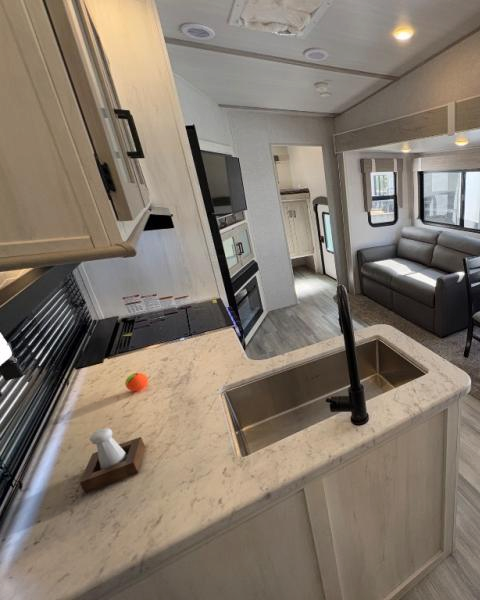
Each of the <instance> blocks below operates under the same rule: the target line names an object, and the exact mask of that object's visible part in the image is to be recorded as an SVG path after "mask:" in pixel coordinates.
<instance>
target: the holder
mask: <svg viewBox="0 0 480 600" xmlns="http://www.w3.org/2000/svg"><path fill="white" fill-rule="evenodd" d="M118 445H119V446H120V447H121V448H122V449H123V450H124V451H125V452H126V454H127V455H128V456H127V459H126V461H124V462H121V463H118V464H116V465H113V466H110V467H108V468H105V469H102V470H101V468H100V462H99V456H98V451H96V452H93V453H92V454H91V456H90V458H89V460H88V463H87V464H86V467H85V470H84V471H83V474H82V476H81V478H80V480H79V485H80V487H81V489H82V490H83V492H84V493H85V495H87V494H88V493H92V492H94V491H96V490H99V489H102V488H104V487H106V486H110V485H112V484H115V483H117V482H120V481H123V480H125V479H128V478H130V477H133V476H136V475H137V474H140V469H141V465H142V462H143V457H144V454H145V450H146V445H145V443H144V441H143V438H142V436H139V437H136V438H133V439H131V440H128V441H125V442H122V443H118Z"/></svg>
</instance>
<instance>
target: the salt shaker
mask: <svg viewBox="0 0 480 600" xmlns="http://www.w3.org/2000/svg"><path fill="white" fill-rule="evenodd" d="M113 435H114V433H113V430H112V429H111V428H109V427H104V428H100V429H98V430H96V431H95V432H92V434H91V435H90V436H89V441H90V442H91V444H92V445H96V450H97V452H98V456H99V462H100V468H101V470H102V469H105V468H108V467H110V466H113V465H116V464H118V463H121V462H124V461H126V459H127V456H128V455H127V454H126V452H125V451H124V450H123V449H122V448H121V447H120V446H119V443H118V442H117V441H116V440H115V439H114V438H113V437H112V436H113Z"/></svg>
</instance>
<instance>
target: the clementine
mask: <svg viewBox="0 0 480 600" xmlns="http://www.w3.org/2000/svg"><path fill="white" fill-rule="evenodd" d="M124 384H125V385H124V386H125V387H126V388H127V390H129V391H131V392H138V391H141V390H144V389H145V388H146V387H147V385H148V384H149V377H148V376H147V375H146V374H144V373H143V372H136V373H132V374H130V375H128V377H127V378H126V380H125V382H124Z"/></svg>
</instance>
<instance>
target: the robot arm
mask: <svg viewBox="0 0 480 600" xmlns="http://www.w3.org/2000/svg"><path fill="white" fill-rule="evenodd" d="M17 361H18V359H17V357H15V352H14V350H13V349H12V344H11V342H9V341H8V342H7V340H6V338H5V337H4V335H3V334H2V333H1V332H0V375H1V376H2V378H3V380H4V381H11V380H15V379H20V378H22V377H24V376H25V374H24V372H23V370H22V368H21V367H20V365H19V363H18V362H17ZM3 395H4V394H3V392H2V390H0V398H2V397H3Z"/></svg>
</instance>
